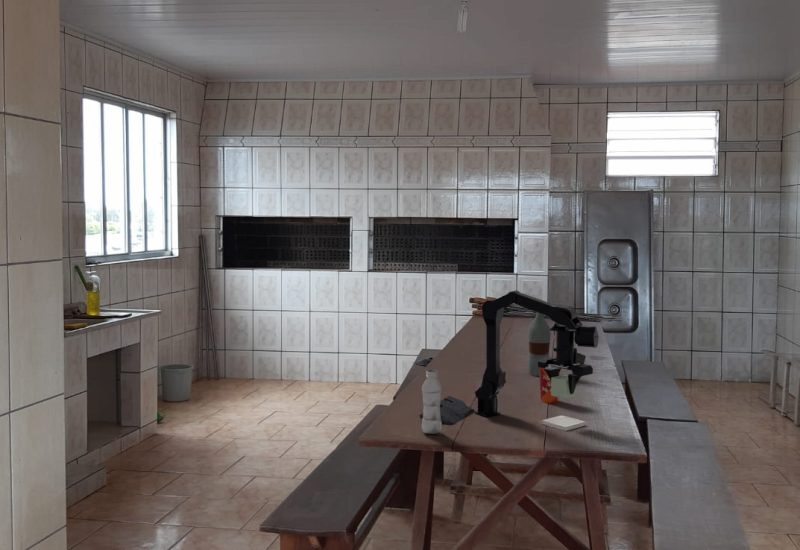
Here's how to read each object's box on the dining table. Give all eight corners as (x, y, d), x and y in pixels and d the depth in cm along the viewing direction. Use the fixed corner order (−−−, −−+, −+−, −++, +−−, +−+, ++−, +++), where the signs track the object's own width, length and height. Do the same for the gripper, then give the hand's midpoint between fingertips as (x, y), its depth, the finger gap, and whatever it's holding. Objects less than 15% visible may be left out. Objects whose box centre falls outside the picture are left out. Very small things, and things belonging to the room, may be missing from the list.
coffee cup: (543, 404, 293) (544, 363, 291) (533, 399, 301) (534, 359, 299) (564, 403, 295) (565, 362, 294) (554, 397, 303) (555, 357, 301)
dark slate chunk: (411, 421, 273) (411, 407, 272) (437, 406, 292) (437, 393, 292) (454, 427, 266) (454, 413, 266) (477, 411, 286) (477, 398, 285)
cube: (565, 399, 263) (565, 380, 262) (550, 395, 267) (551, 377, 267) (577, 396, 266) (577, 378, 266) (562, 392, 271) (563, 374, 270)
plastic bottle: (440, 430, 261) (441, 368, 259) (442, 436, 254) (443, 373, 252) (420, 430, 261) (421, 368, 259) (422, 436, 254) (422, 373, 252)
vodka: (553, 373, 343) (554, 302, 340) (545, 377, 336) (546, 305, 333) (532, 370, 348) (533, 301, 345) (523, 374, 341) (525, 303, 338)
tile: (565, 430, 261) (565, 427, 260) (541, 423, 268) (541, 420, 268) (585, 425, 267) (585, 421, 267) (561, 418, 275) (561, 415, 274)
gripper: (604, 346, 263) (602, 393, 265) (558, 338, 277) (557, 383, 279) (582, 350, 256) (581, 399, 257) (536, 342, 270) (535, 388, 272)
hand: (564, 392), depth 267 cm, fingers closed on cube, 6 cm apart
